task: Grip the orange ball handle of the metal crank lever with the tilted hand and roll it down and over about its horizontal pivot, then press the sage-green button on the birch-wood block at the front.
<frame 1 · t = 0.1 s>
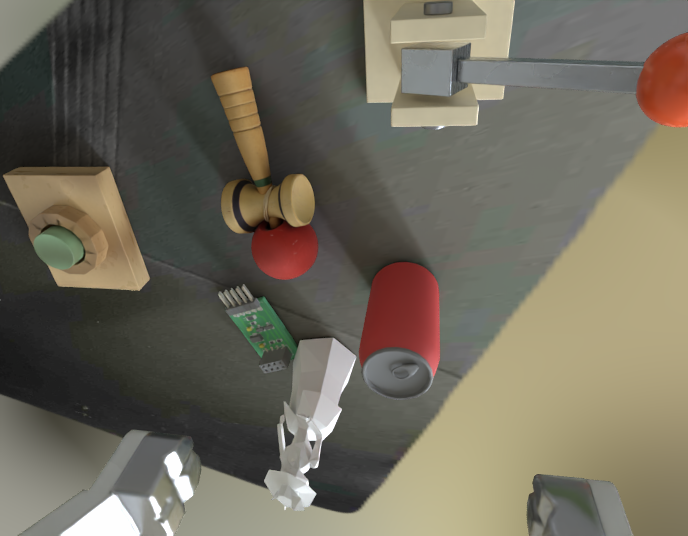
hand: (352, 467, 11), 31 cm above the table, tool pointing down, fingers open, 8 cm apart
lever: (550, 73, 21), point 13 cm above the table, hinge at 25.0°
kendama: (271, 170, 41), on the table
beer can: (405, 285, 45), on the table
button block: (88, 225, 48), on the table
figurine: (324, 359, 53), on the table, touching circuit board
bracket: (435, 39, 33), on the table
circuit board: (262, 320, 52), on the table, touching figurine
button: (59, 247, 44), point 4 cm above the table, slide at 0.1 cm
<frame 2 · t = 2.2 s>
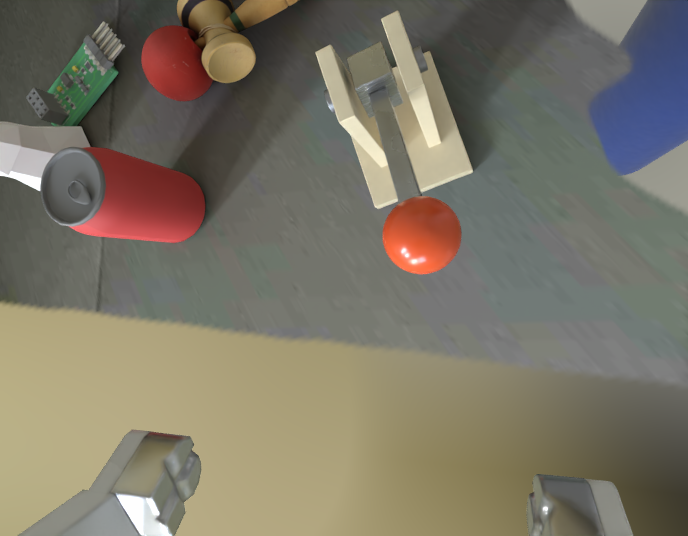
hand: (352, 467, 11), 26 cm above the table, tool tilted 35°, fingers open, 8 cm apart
lever: (396, 151, 24), point 13 cm above the table, hinge at 25.0°
kendama: (250, 37, 41), on the table
beer can: (179, 208, 43), on the table
figurine: (67, 162, 47), on the table, touching circuit board
bracket: (404, 134, 37), on the table
circuit board: (89, 82, 46), on the table, touching figurine
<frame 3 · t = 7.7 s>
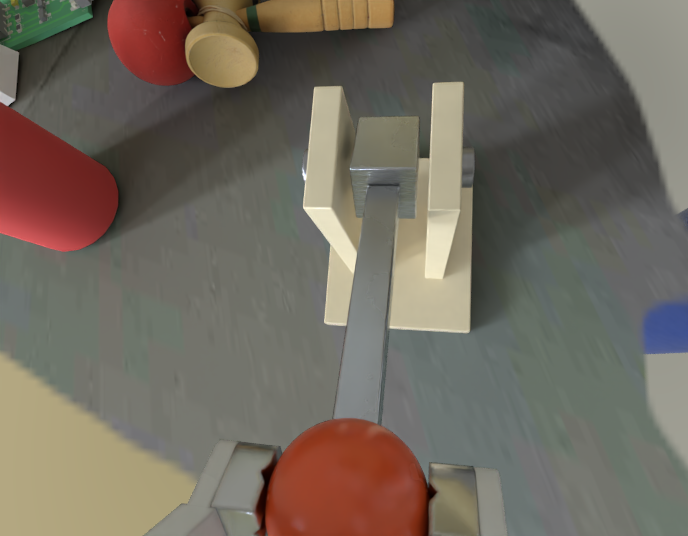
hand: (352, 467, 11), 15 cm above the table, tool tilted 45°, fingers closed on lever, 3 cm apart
lever: (371, 300, 13), point 13 cm above the table, hinge at 25.0°, touching gripper
kendama: (266, 47, 32), on the table
beer can: (82, 208, 31), on the table
bracket: (400, 244, 27), on the table
circuit board: (56, 13, 36), on the table, touching figurine
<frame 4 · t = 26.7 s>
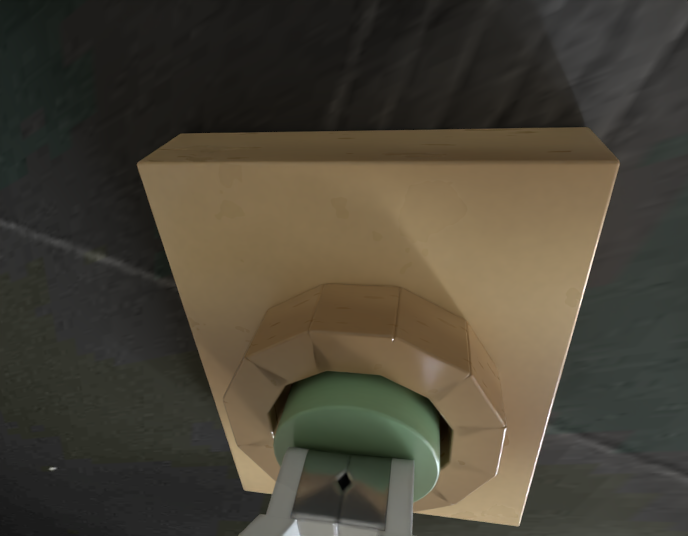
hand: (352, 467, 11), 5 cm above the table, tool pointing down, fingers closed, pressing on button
button block: (375, 331, 15), on the table
button: (359, 432, 11), point 4 cm above the table, slide at -0.5 cm, touching gripper
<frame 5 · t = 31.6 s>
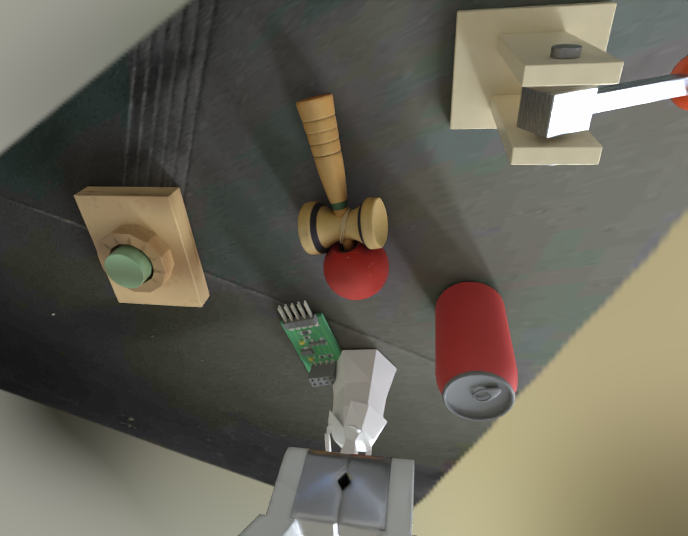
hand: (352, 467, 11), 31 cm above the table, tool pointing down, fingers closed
lever: (636, 92, 26), point 8 cm above the table, hinge at -30.5°
kendama: (343, 192, 41), on the table
beer can: (468, 303, 46), on the table
button block: (152, 243, 48), on the table
figurine: (364, 370, 53), on the table, touching circuit board
bracket: (523, 68, 33), on the table
circuit board: (314, 335, 52), on the table, touching figurine
button: (128, 266, 44), point 4 cm above the table, slide at 0.1 cm
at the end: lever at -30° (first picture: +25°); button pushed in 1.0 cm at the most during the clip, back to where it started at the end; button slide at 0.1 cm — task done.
